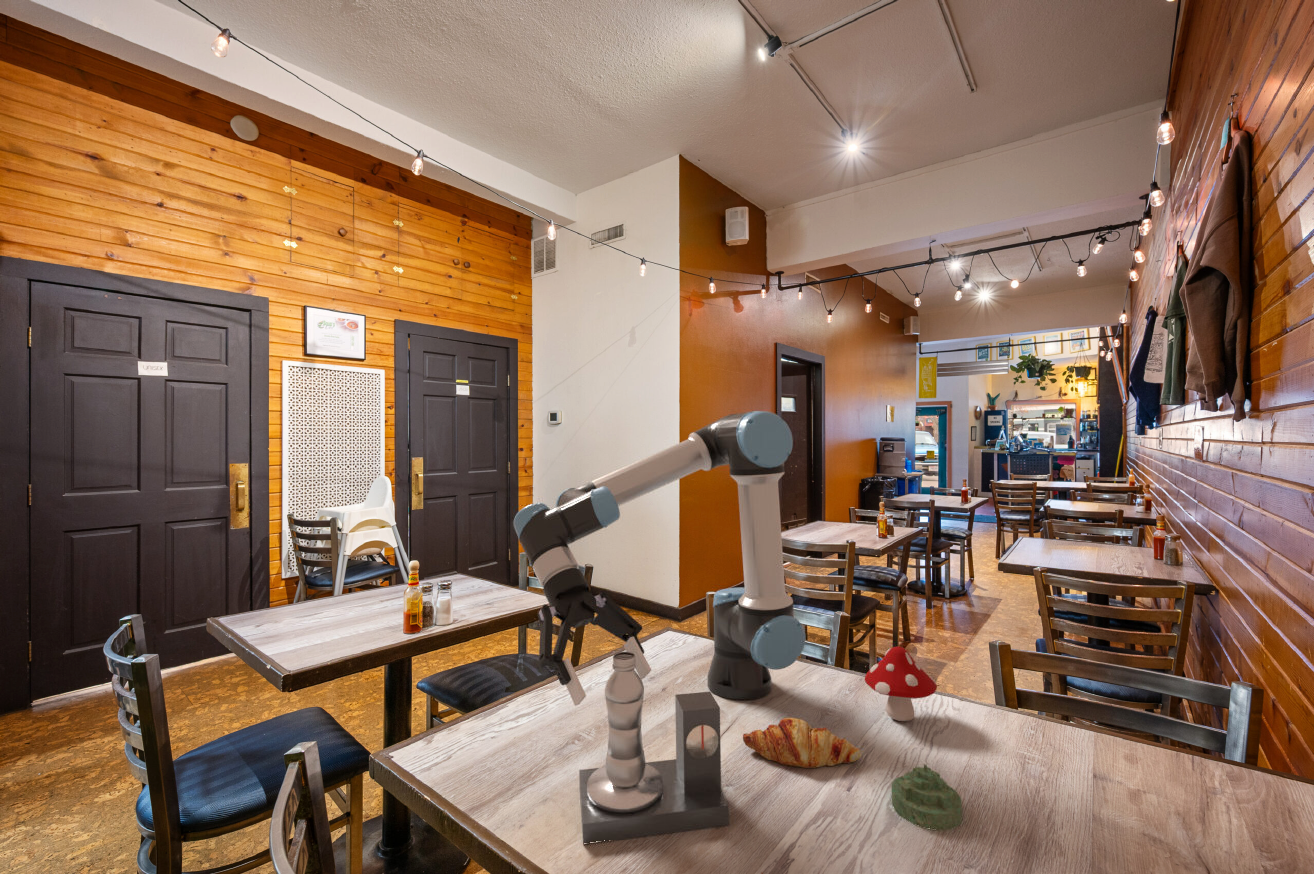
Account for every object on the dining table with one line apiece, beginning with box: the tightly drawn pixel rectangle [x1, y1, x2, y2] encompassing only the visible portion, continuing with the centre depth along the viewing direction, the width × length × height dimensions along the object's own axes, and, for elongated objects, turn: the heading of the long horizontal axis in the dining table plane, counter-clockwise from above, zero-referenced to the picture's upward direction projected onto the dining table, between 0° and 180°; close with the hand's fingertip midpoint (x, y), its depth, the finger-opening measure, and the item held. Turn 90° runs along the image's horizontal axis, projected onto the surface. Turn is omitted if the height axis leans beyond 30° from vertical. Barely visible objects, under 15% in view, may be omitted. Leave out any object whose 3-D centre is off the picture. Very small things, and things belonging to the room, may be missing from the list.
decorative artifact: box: [891, 763, 963, 831], centre depth 90 cm, size 10×7×10 cm
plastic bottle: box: [604, 651, 647, 787], centre depth 91 cm, size 6×7×20 cm
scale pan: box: [587, 764, 663, 812], centre depth 91 cm, size 12×12×1 cm
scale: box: [578, 691, 730, 845], centre depth 92 cm, size 22×14×16 cm, turn 100°
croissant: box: [742, 717, 862, 769], centre depth 105 cm, size 21×10×8 cm, turn 78°
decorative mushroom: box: [864, 646, 938, 722], centre depth 119 cm, size 14×14×15 cm
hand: (615, 687), depth 92 cm, fingers open, 13 cm apart
